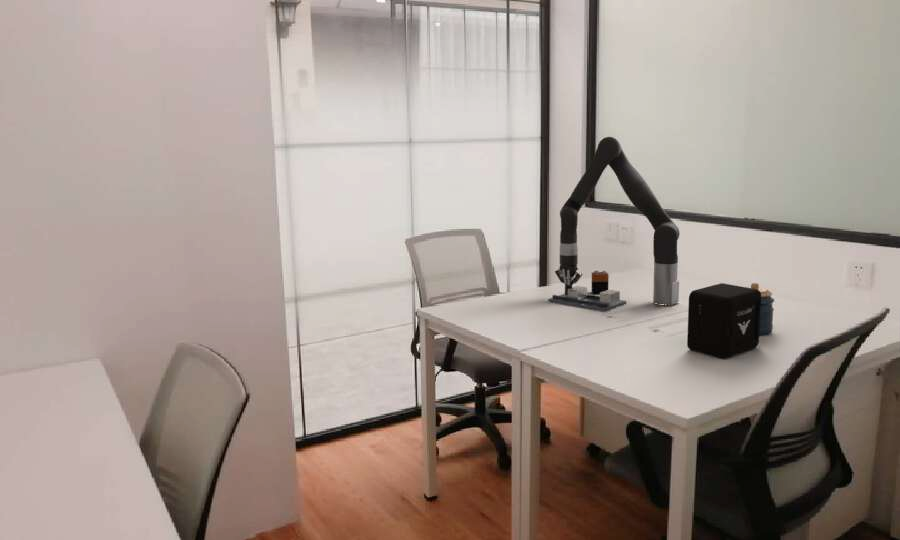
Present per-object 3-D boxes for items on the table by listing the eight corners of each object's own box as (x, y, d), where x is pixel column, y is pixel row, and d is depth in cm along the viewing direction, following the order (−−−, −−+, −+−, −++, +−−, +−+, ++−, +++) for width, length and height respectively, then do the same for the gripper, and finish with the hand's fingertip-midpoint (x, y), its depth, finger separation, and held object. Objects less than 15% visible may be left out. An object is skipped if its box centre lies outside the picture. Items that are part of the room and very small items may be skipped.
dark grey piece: (626, 303, 300) (626, 289, 298) (605, 311, 288) (605, 296, 287) (569, 294, 319) (569, 280, 317) (548, 301, 307) (548, 287, 306)
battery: (591, 292, 322) (591, 270, 320) (606, 291, 322) (606, 269, 320) (592, 294, 318) (593, 272, 316) (608, 294, 317) (608, 271, 315)
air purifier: (725, 361, 226) (728, 299, 222) (686, 350, 237) (688, 291, 233) (762, 348, 237) (765, 289, 233) (722, 338, 249) (725, 282, 245)
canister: (769, 338, 248) (772, 288, 244) (729, 333, 254) (731, 284, 251) (774, 328, 258) (777, 280, 255) (736, 324, 265) (738, 277, 262)
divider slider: (587, 296, 307) (587, 287, 306) (573, 301, 300) (573, 292, 299) (577, 295, 310) (577, 286, 310) (563, 299, 303) (563, 290, 302)
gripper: (586, 253, 304) (586, 293, 307) (560, 250, 313) (560, 289, 316) (576, 256, 299) (576, 297, 302) (550, 253, 308) (550, 292, 311)
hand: (568, 293), depth 309 cm, fingers closed
